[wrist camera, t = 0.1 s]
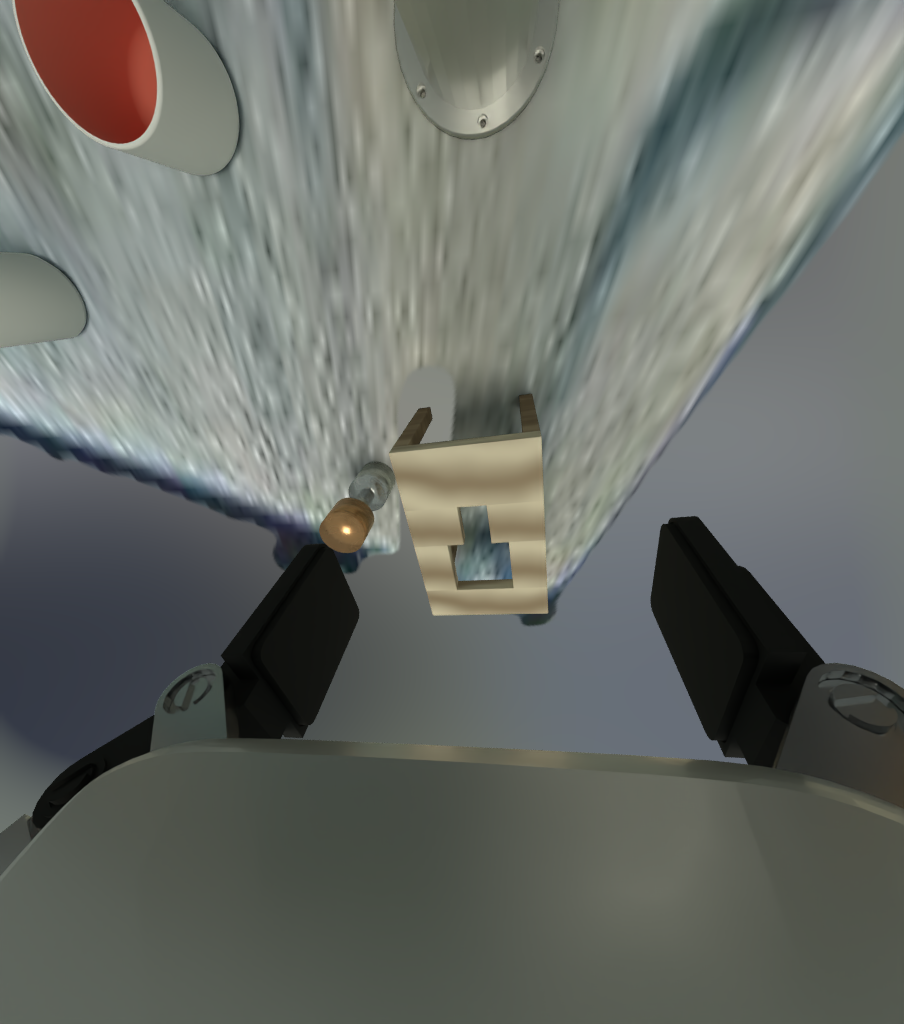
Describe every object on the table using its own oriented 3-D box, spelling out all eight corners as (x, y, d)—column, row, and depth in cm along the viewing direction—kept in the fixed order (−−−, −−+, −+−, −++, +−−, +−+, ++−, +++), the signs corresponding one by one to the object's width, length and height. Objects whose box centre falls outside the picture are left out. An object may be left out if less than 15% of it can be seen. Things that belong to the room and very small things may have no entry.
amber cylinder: (356, 463, 51) (312, 518, 40) (390, 460, 50) (355, 515, 39) (366, 494, 54) (328, 554, 42) (399, 491, 53) (368, 551, 41)
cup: (142, -15, 30) (0, -129, 21) (257, 75, 32) (169, 3, 23) (133, 133, 35) (16, 88, 27) (233, 203, 37) (153, 181, 29)
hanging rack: (418, 408, 46) (388, 453, 34) (531, 393, 43) (541, 436, 32) (448, 546, 57) (433, 615, 46) (539, 541, 55) (548, 613, 43)
